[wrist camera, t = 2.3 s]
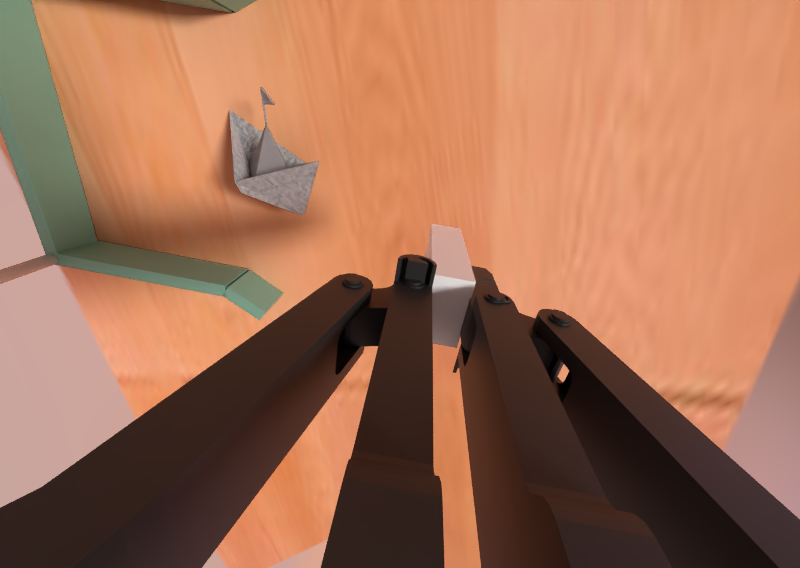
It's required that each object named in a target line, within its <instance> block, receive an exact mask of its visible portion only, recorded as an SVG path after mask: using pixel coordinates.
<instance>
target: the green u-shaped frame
mask: <svg viewBox="0 0 800 568" xmlns="http://www.w3.org/2000/svg"><path fill="white" fill-rule="evenodd" d="M160 1H166V2H172V3H177V4H183V5H189V6H195V7H200V8H206V9H212V10H218V11H223V12H229V13H232V10H233V11H234V12H237V11H239V10H241V9H242V8H244V7H246V6H247V5H249V4H251V3H252V2H254V1H256V0H160ZM0 129H1V132H2V135H3V138H4V140H5V143H6V146H7V149H8V151H9V154H10V157H11V160H12V163H13V165H14V168H15V171H16V174H17V176H18V179H19V182H20V185H21V187H22V190H23V193H24V196H25V198H26V201H27V204H28V207H29V210H30V212H31V215H32V218H33V221H34V223H35V226H36V229H37V232H38V234H39V237H40V240H41V243H42V245H43V248H44V251H45V254H46V255H44V256H41V257H38V258H35V259H32V260H29V261H26V262H23V263H20V264H17V265H14V266H11V267H8V268H5V269H2V270H0V284H1V283H4V282H7V281H9V280H12V279H15V278H18V277H21V276H23V275H26V274H29V273H32V272H35V271H37V270H40V269H43V268H45V267H48V266H51V265H54V264H55V265H60V266H66V267H71V268H76V269H81V270H87V271H92V272H97V273H102V274H108V275H113V276H118V277H124V278H129V279H134V280H139V281H145V282H150V283H155V284H160V285H166V286H171V287H176V288H181V289H187V290H192V291H197V292H203V293H208V294H213V295H218V296H224V297H225V298H227V299H228V300H230V301H231V302H233V303H234V304H236V305H237V306H239V307H240V308H242V309H243V310H245V311H246V312H248V313H249V314H251V315H252V316H254V317H255V318H257V319H258V320H260V319H261V318H262V317H263V316H264V315H265V314H266V312H267V311H268V310H269V309H270V308H271V307H272V306H273V305H274V304H275V303H276V301H277V300H278V299H279V298H280V296H281V295H282V294H283V292H281V291H280V290H278V289H277V288H275V287H274V286H273V285H271V284H270V283H268V282H267V281H265V280H264V279H263V278H261V277H260V276H258V275H257V274H255V273H254V272H253V271H251V270H249V271H248V272H247V268H242V267H236V266H231V265H226V264H220V263H215V262H210V261H204V260H199V259H194V258H188V257H183V256H178V255H172V254H167V253H162V252H156V251H151V250H146V249H140V248H135V247H130V246H125V245H119V244H114V243H109V242H103V241H98V240H97V237H96V233H95V230H94V226H93V223H92V219H91V215H90V212H89V208H88V205H87V201H86V197H85V194H84V190H83V187H82V183H81V179H80V176H79V172H78V169H77V165H76V161H75V158H74V154H73V151H72V147H71V143H70V140H69V136H68V133H67V129H66V125H65V122H64V118H63V115H62V111H61V107H60V104H59V100H58V97H57V93H56V89H55V86H54V82H53V79H52V75H51V71H50V68H49V64H48V61H47V57H46V53H45V50H44V46H43V43H42V39H41V35H40V32H39V28H38V25H37V21H36V17H35V14H34V10H33V7H32V3H31V0H0Z"/></svg>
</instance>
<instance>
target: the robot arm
mask: <svg viewBox="0 0 800 568" xmlns="http://www.w3.org/2000/svg"><path fill="white" fill-rule="evenodd" d="M372 288H373V284H372V282H371V281H370V280H369V279H368V278H366V277H363V276H360V275H357V274H351V273H350V274H343V275H339V276H337V277H334V278H333V279H332V280H330V281H329V282H328V283H326V284H325V285H323V286H322V287H321V288H319V289H318V290H316V291H315V292H314V293H312V294H311V295H309V296H308V297H307V298H305V299H304V300H302V301H301V302H300V303H298V304H297V305H295V306H294V307H293V308H291V309H290V310H288V311H287V312H286V313H284V314H283V315H281V316H280V317H279V318H277V319H276V320H274V321H273V322H272V323H270V324H269V325H267V326H266V327H265V328H263V329H262V330H260V331H259V332H258V333H256V334H255V335H253V336H252V337H251V338H249V339H248V340H246V341H245V342H244V343H242V344H241V345H239V346H238V347H237V348H235V349H234V350H233V351H231V352H230V353H228V354H227V355H226V356H224V357H223V358H221V359H220V360H219V361H217V362H216V363H214V364H213V365H212V366H210V367H209V368H207V369H206V370H205V371H203V372H202V373H200V374H199V375H198V376H196V377H195V378H193V379H192V380H191V381H189V382H188V383H186V384H185V385H184V386H182V387H181V388H179V389H178V390H177V391H175V392H174V393H172V394H171V395H170V396H168V397H167V398H165V399H164V400H163V401H161V402H160V403H158V404H157V405H156V406H154V407H153V408H151V409H150V410H149V411H147V412H146V413H144V414H143V415H142V416H140V417H139V418H138V419H136V420H135V421H133V422H132V423H131V424H129V425H128V426H127V427H125V428H124V429H122V430H121V431H119V432H118V433H117V434H115V435H114V436H113V437H111V438H110V439H108V440H107V441H106V442H104V443H103V444H101V445H100V446H98V447H97V448H96V449H94V450H93V451H91V452H90V453H89V454H87V455H86V456H85V457H83V458H82V459H80V460H79V461H77V462H76V463H75V464H74V465H72V466H70V467H69V468H68V469H66V470H65V471H63V472H62V473H61V474H59V475H58V476H56V477H55V478H54V479H52V480H51V481H50V482H48V483H47V484H45V485H44V486H43V487H41V488H39V489H37V490H35V491H33V492H31V493H29V494H27V495H25V496H23V497H21V498H19V499H17V500H15V501H13V502H11V503H9V504H7V505H5V506H3V507H1V508H0V568H202V567H203V565H204V564H205V563H206V561H207V560H208V559H209V557H210V556H211V554H212V553H213V552H214V551H215V549H216V548H217V547H218V545H219V544H220V543H221V541H222V540H223V539H224V537H225V536H226V535H227V533H228V532H229V531H230V529H231V528H232V527H233V525H234V524H235V523H236V521H237V520H238V519H239V517H240V516H241V515H242V513H243V512H244V511H245V509H246V508H247V507H248V505H249V504H250V503H251V501H252V500H253V499H254V497H255V496H256V495H257V493H258V492H259V491H260V489H261V488H262V487H263V485H264V484H265V483H266V481H267V480H268V479H269V477H270V476H271V475H272V473H273V472H274V471H275V469H276V468H277V467H278V465H279V464H280V463H281V461H282V460H283V459H284V457H285V456H286V455H287V453H288V452H289V451H290V449H291V448H292V447H293V445H294V444H295V443H296V441H297V440H298V439H299V437H300V436H301V435H302V433H303V432H304V431H305V429H306V428H307V427H308V425H309V424H310V423H311V421H312V420H313V419H314V417H315V416H316V415H317V413H318V412H319V411H320V409H321V408H322V407H323V405H324V404H325V403H326V401H327V400H328V399H329V397H330V396H331V395H332V393H333V392H334V391H335V389H336V388H337V387H338V385H339V384H340V383H341V381H342V380H343V379H344V377H345V376H346V375H347V373H348V372H349V371H350V369H351V368H352V367H353V365H354V364H355V363H356V361H357V360H358V359H359V357H360V356H361V355H362V353H363V351H364V346H378V350H377V354H376V358H375V363H374V367H373V371H372V375H371V379H370V383H369V387H368V391H367V395H366V399H365V403H364V408H363V412H362V416H361V420H360V424H359V428H358V432H357V436H356V440H355V444H354V448H353V452H352V456H351V459H349V461H348V464H347V467H346V471H345V474H344V478H343V482H342V486H341V490H340V494H339V498H338V502H337V506H336V510H335V514H334V518H333V522H332V525H331V529H330V533H329V537H328V541H327V545H326V550H325V553H324V557H323V561H322V565H321V568H444V538H443V505H442V488H441V481H440V478H439V476H435V475H434V468H433V343H434V344H440V345H445V346H450V347H456V348H457V345H458V342H459V338H460V336H461V346H460V349H459V353H458V356H457V359H456V363H455V366H454V370H453V372H454V373H456V371H457V369H458V368H459V370H460V379H461V388H462V397H463V406H464V415H465V424H466V433H467V442H468V451H469V460H470V469H471V478H472V487H473V496H474V505H475V514H476V523H477V532H478V541H479V550H480V559H481V568H800V519H798V518H797V517H796V516H795V515H794V514H793V513H792V512H791V511H790V510H788V509H787V508H786V507H785V506H784V505H783V504H782V503H781V502H779V501H778V500H777V499H776V498H775V497H774V496H773V495H772V494H770V493H769V492H768V491H767V490H766V489H765V488H764V487H763V486H761V485H760V484H759V483H758V482H757V481H756V480H755V479H754V478H752V477H751V476H750V475H749V474H748V473H747V472H746V471H745V470H743V469H742V468H741V467H740V466H739V465H738V464H737V463H736V462H735V461H733V460H732V459H731V458H730V457H729V456H728V455H727V454H726V453H724V452H723V451H722V450H721V449H720V448H719V447H718V446H717V445H716V444H714V443H713V442H712V441H711V440H710V439H709V438H708V437H707V436H705V435H704V434H703V433H702V432H701V431H700V430H699V429H698V428H696V427H695V426H694V425H693V424H692V423H691V422H690V421H689V420H687V419H686V418H685V417H684V416H683V415H682V414H681V413H680V412H678V411H677V410H676V409H675V408H674V407H673V406H672V405H671V404H670V403H668V402H667V401H666V400H665V399H664V398H663V397H662V396H661V395H659V394H658V393H657V392H656V391H655V390H654V389H653V388H652V387H650V386H649V385H648V384H647V383H646V382H645V381H644V380H643V379H641V378H640V377H639V376H638V375H637V374H636V373H635V372H634V371H633V370H631V369H630V368H629V367H628V366H627V365H626V364H625V363H624V362H622V361H621V360H620V359H619V358H618V357H617V356H616V355H615V354H613V353H612V352H611V351H610V350H609V349H608V348H607V347H606V346H604V345H603V344H602V343H601V342H600V341H599V340H598V339H597V338H596V337H594V336H593V335H592V334H591V333H590V332H589V331H588V330H587V329H585V328H584V327H583V326H582V325H581V324H580V323H579V322H578V321H576V320H575V319H574V318H572V317H571V316H569V315H567V314H566V313H564V312H562V311H560V312H559V310H551V309H542V310H540V311H539V312H538V314H537V317H536V319H535V318H532V317H529V316H526V315H523V314H521V313H519V312H518V310H517V308H516V306H515V303H514V302H513V301H512V299H511V298H510V297H508V296H506V295H504V294H502V293H500V292H499V290H498V287H497V285H496V283H495V280H494V278H493V276H492V274H491V273H490V272H489V271H488V270H486V269H485V268H480V267H474V266H471V263H470V260H469V257H468V253H467V250H466V246H465V243H464V239H463V236H462V232H461V229H459V228H454V227H448V226H443V225H437V224H432V225H431V230H430V235H429V240H428V245H427V249H426V254H425V257H423V256H419V255H412V254H410V255H403V256H400V257H399V258H398V263H397V269H396V275H395V281H394V285H392V286H390V287H388V288H381V289H372ZM563 364H565V365H566V367H567V368H568V369H569V373H568V375H567V377H566V379H565V381H564V382H562V381H560V379H559V378H558V377H557V376H558V374H559V372H560V370H561V368H562V366H563Z"/></svg>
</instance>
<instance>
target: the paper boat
mask: <svg viewBox="0 0 800 568" xmlns="http://www.w3.org/2000/svg"><path fill="white" fill-rule="evenodd" d="M260 89H261V96H262V103H263V110H264V117H265V125H266V126H265V128H264V131H263V133H262V132H261V131H259V130H258V129H256V128H255V127H254V126H252V125H251V124H249V123H248V122H246V121H245V120H244V119H242V118H241V117H239V116H238V115H236V114H235V113H233V112H232V111H231V110H229V114H230V127H231V141H232V154H233V168H234V181H235V183H236V185H237V187H238V188H239V190H240V192H241V193H242V194H245V195H248V196H250V197H253V198H256V199H258V200H261V201H263V202H266V203H269V204H271V205H274V206H277V207H279V208H282V209H284V210H287V211H290V212H292V213H295V214H301V215H304V214H305V210H306V206H307V203H308V199H309V196H310V192H311V189H312V185H313V181H314V178H315V174H316V171H317V167H318V164H319V161H317V162H311V163H305V162H303V161H302V160H301V159H299V158H298V157H296V156H295V155H294V154H292V153H291V152H289V151H288V150H286V149H285V148H284V147H282V146H281V145H279V144H278V143H276V142H275V140H274V138H273V136H272V134H271V132H270V130H269V128H268V126H267V119H266V112H265V104H271V105H274V104H275V103H274V102H273V101H272V99H271V98H270V97H269V95H268V94H267V93H266V91H265V90H264V89H263V88H262V87H260Z"/></svg>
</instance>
